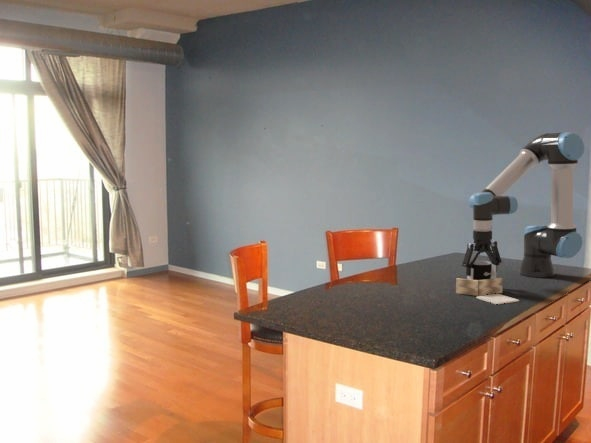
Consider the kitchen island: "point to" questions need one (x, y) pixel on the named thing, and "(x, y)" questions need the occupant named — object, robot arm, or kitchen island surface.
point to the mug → (482, 270)
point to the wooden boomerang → (479, 286)
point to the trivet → (497, 299)
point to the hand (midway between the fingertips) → (481, 281)
